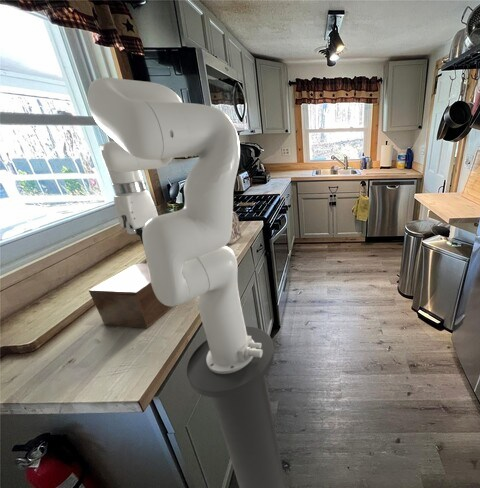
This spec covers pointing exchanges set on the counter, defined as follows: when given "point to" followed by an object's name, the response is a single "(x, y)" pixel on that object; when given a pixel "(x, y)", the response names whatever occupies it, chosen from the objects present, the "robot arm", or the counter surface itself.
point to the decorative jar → (235, 229)
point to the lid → (126, 281)
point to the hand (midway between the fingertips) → (150, 246)
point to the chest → (129, 308)
